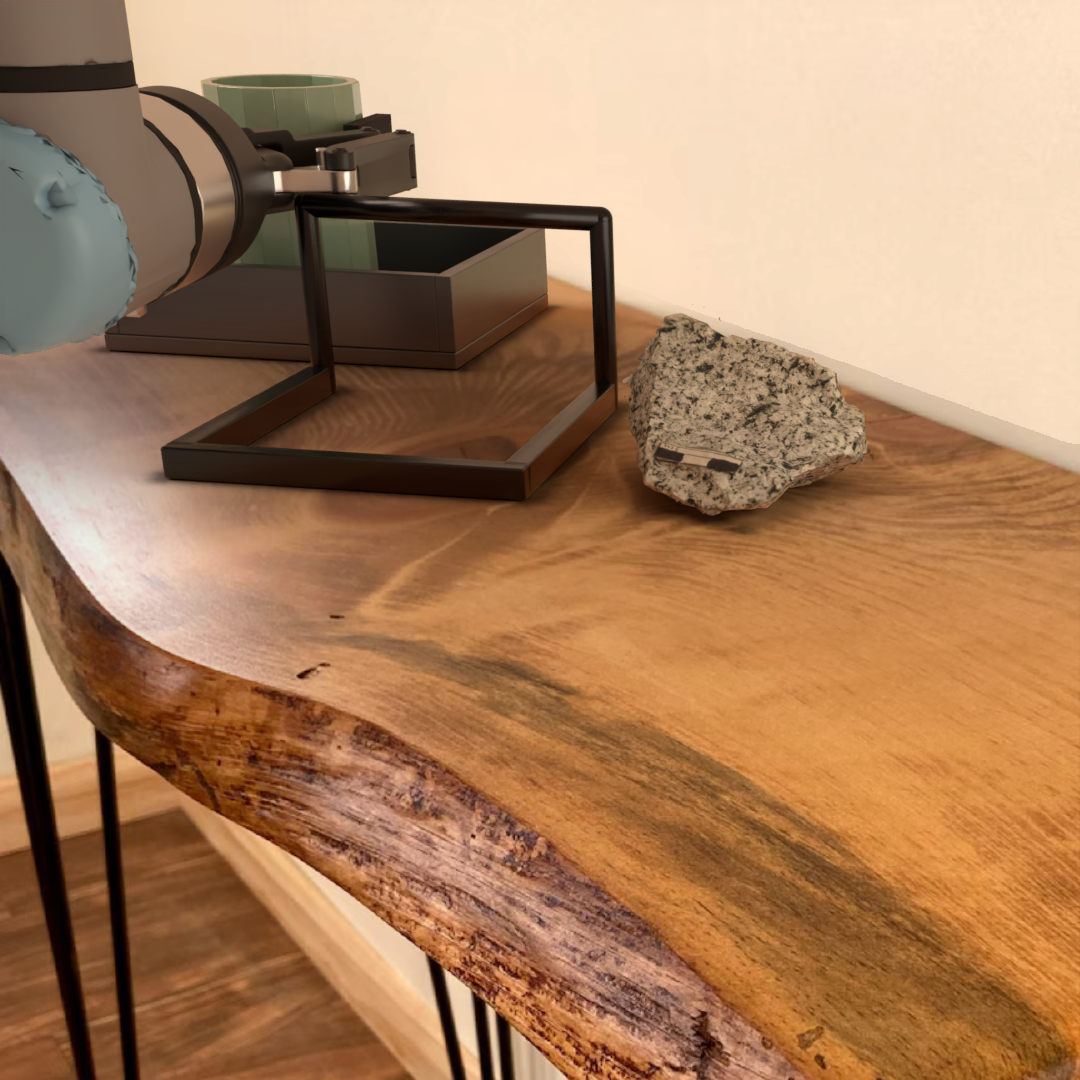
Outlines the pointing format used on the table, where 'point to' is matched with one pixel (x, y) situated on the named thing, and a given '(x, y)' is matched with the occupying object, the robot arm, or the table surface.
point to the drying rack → (224, 438)
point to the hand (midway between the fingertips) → (306, 138)
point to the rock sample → (736, 418)
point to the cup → (301, 111)
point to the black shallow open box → (362, 302)
